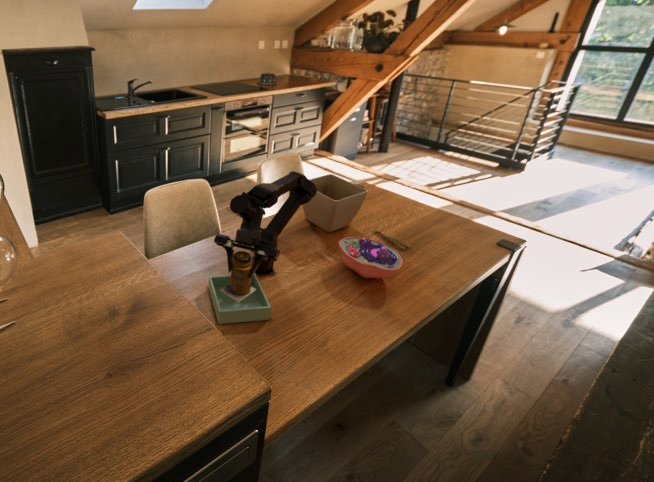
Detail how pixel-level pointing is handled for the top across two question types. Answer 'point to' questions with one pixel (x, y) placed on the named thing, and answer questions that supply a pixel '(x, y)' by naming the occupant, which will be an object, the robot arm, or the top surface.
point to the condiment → (240, 277)
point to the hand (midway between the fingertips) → (239, 275)
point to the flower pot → (334, 202)
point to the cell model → (369, 257)
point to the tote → (233, 310)
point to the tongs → (394, 240)
